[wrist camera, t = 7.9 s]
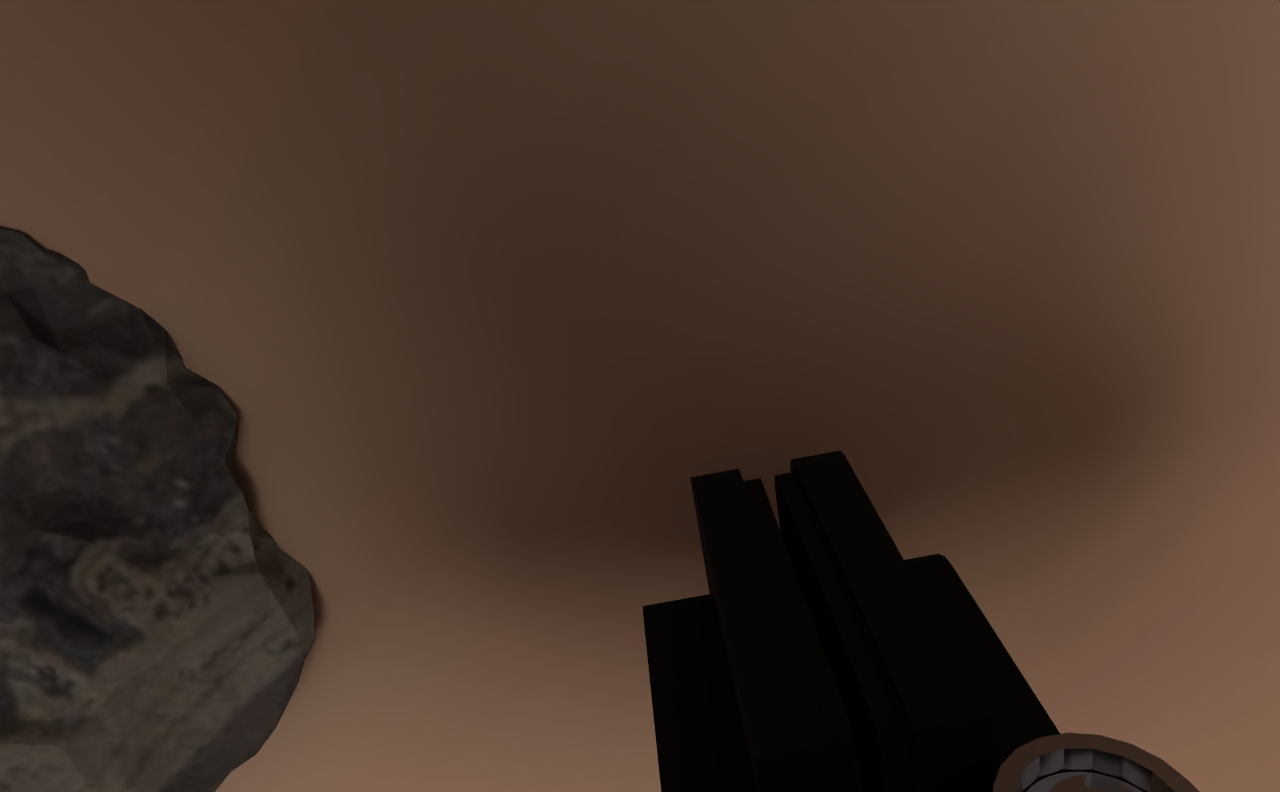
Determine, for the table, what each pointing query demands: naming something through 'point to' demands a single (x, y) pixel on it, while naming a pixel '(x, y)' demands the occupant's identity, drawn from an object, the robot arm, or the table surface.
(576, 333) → the table surface
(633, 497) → the table surface
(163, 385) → the grey rough rock slab
